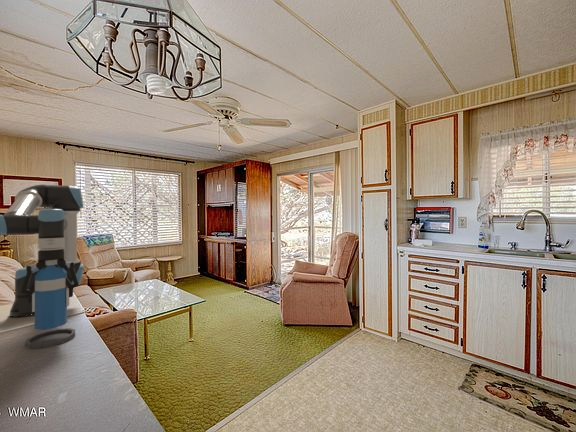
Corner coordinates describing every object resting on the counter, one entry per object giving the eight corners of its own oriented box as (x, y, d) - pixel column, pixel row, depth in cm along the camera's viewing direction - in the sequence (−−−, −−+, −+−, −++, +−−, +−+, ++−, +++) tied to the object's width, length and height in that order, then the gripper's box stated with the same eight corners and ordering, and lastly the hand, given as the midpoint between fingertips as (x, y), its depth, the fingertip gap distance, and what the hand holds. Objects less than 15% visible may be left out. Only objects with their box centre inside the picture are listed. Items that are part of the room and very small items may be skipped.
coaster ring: (29, 338, 102) (29, 334, 102) (76, 329, 111) (76, 325, 111) (21, 352, 91) (21, 348, 91) (73, 341, 99) (73, 337, 99)
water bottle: (37, 332, 94) (37, 262, 95) (32, 326, 100) (32, 260, 101) (70, 324, 102) (70, 258, 102) (63, 318, 107) (63, 257, 108)
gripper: (8, 252, 92) (8, 317, 92) (86, 247, 105) (86, 304, 104) (13, 250, 98) (13, 311, 98) (87, 246, 111) (87, 300, 110)
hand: (51, 308), depth 101 cm, fingers closed on water bottle, 9 cm apart
